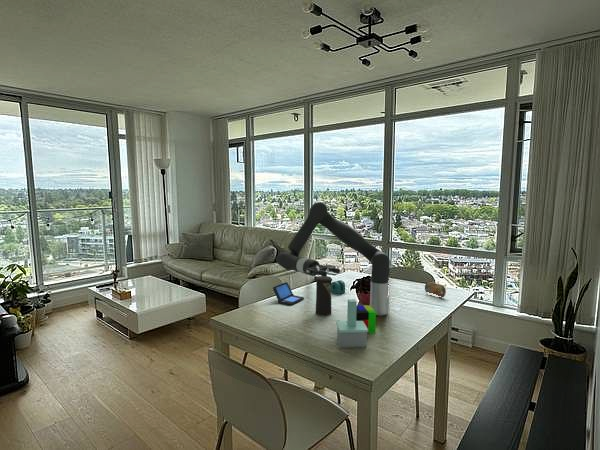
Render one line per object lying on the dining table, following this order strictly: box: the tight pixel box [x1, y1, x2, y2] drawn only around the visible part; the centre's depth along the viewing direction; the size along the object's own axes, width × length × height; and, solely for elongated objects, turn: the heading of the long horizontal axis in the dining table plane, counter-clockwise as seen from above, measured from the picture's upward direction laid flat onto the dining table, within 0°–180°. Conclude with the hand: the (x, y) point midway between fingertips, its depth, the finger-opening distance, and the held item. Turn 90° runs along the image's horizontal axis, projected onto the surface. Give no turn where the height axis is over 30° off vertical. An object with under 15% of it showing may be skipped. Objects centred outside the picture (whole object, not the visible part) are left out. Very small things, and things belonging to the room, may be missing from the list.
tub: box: [336, 326, 368, 349], centre depth 147 cm, size 11×9×7 cm
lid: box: [335, 298, 368, 333], centre depth 146 cm, size 12×10×12 cm
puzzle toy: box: [356, 304, 377, 334], centre depth 162 cm, size 10×10×10 cm
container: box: [314, 275, 333, 317], centre depth 183 cm, size 9×9×20 cm
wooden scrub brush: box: [424, 281, 447, 298], centre depth 215 cm, size 15×3×8 cm, turn 25°
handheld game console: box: [272, 282, 305, 306], centre depth 205 cm, size 16×13×9 cm
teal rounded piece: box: [331, 279, 346, 296], centre depth 226 cm, size 18×7×8 cm, turn 42°
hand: (332, 272), depth 153 cm, fingers open, 8 cm apart
